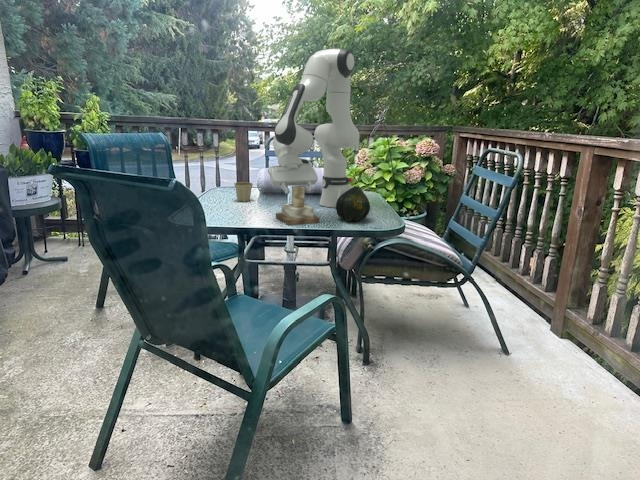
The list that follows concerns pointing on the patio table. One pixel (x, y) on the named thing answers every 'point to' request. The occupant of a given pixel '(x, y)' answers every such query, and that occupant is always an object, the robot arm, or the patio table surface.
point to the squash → (353, 205)
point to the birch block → (298, 196)
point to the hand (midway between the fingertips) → (298, 192)
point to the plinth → (297, 221)
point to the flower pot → (243, 191)
